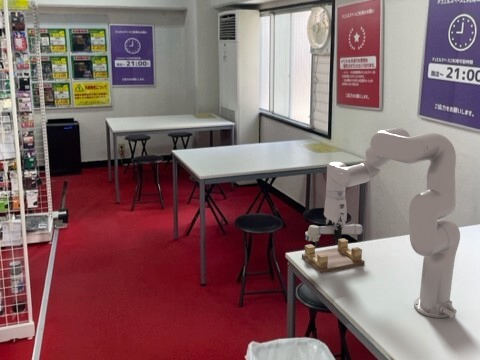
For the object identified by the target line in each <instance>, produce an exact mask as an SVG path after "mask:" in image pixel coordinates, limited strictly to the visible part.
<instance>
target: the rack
mask: <svg viewBox="0 0 480 360" xmlns="http://www.w3.org/2000/svg"><path fill="white" fill-rule="evenodd" d="M362 255H363V249H361V248H360V247H359V246H357V247H351V248H350V247H349V240H348V239H346V238H339V239H337V247H333V248H329V249H328V248H327V249H324V250H318V251H316V246H315V245H313V244H306V245H304V253H302V254H301V258H302V259H303V260H304V261H305V262H307V263H308V264H309V265H310V266H311V267H313V268H314V269H316V270H317V271H318V272H320V273H321V274H326V273H330V272H335V271H339V270H344V269H349V268H350V269H351V268H353V267H354V268H355V267H359V266H360V267H361V266H363V265H365V262H366V261H365V260H364V259H363V256H362Z"/></svg>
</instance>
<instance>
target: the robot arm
mask: <svg viewBox="0 0 480 360" xmlns="http://www.w3.org/2000/svg"><path fill="white" fill-rule="evenodd" d="M391 161H395V162H399V163H402V164H408V165H409V164H410V165H411V164H412V165H413V164H418V163H422V162H425V161H429V162H430V163H429V166H428V169H427V172H426V189H425V191H421V192H419V193H418V194H415V195H414V196H413V198H411V201H410V204H409V209H408V211H409V212H408V213H409V214H408V220H409V221H408V223H409V224H408V225H409V243H410V245H411V248H412V249H413V251H414V252H415V253H416V254H417V255H419V256H423V260H422V270H421V271H422V272H421V281H420V288H419V289H420V290H419V297H418V298H416V299H415V300H414V301H413V303H414V304H413V308H414V309H415V310H416V311H418V313H420V314H422V315H424V316H427V317H429V318H436V319H437V318H438V319H443V318H448V317H449V318H451V319H452V318H453V317H454V316H455V314H456V313H457V311H458V310H457V309H456V308H454V306H453V301H451V293H452V283H453V275H454V269H455V268H454V267H455V262H456V261H455V260H456V255H457V250H458V249H459V245H460V241H461V232H460V229H459V227H458V225H457V224H456V223H455V222H453V221H452V220H449V219H443V218H446V217H448V216H450V215H451V214H453V213H454V211H455V209H456V199H457V198H456V167H457V166H456V163H457V162H456V161H457V155H456V149H455V147H454V145H453V143H452V141H451V140H449V139H448V138H447V137H446V136H444V135H442V134H441V133H435V132H434V133H433V132H432V133H423V134H418V135H413V136H411V135H410V134H409V132H408V131H407V130H405V129H404V128H400V127H394V128H388V129H382V130H378V131H377V132H375V133H374V134H373V135H372V136H371V138H370V143H369V147H367V148H366V150H365V160H363V162H361V163H359V164H354V165H350V166H347V164H345V163H344V162H340V161H333V162H332V161H331V162H328V164H327V166H326V184H325V185H326V188H325V198H324V199H325V201H324V206H323V207H324V209H323V210H324V211H323V216H324V219H325V224H326V225H325V226H335V230H334V234H333V239H334V240H338V239H342V234H341V233H342V229H343V227H344V226H346V225H347V224H346V222H347V217H348V212H347V210H348V209H347V199H346V188H350V187H353V186H357V185H361V184H364V183H367V182H369V181H371V180H373V178H375V177H376V176H378V175H379V174H380V173H381V172H382V171H383V169H384V166H385V165H387V164H388V163H390V162H391Z"/></svg>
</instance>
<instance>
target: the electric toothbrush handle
mask: <svg viewBox="0 0 480 360" xmlns="http://www.w3.org/2000/svg"><path fill="white" fill-rule="evenodd" d="M307 229H308V230H307V231H305V234H304V235H305V238H304V239H305V240H306V242H307V241H308V242H310V241H311V242H314V243H317V242H319V240H320V237H321V236H322V235H334V230H335V225H334V226H326V225H324V226H323V225H321V226H318V225H315V224H311V225H309V227H308V228H307ZM363 233H364V226H363V225H362V224H360V223H358V224H356V223H352V224H346V226H344V227H343V229H342V233H341V235H352V236H355V235H362V234H363Z"/></svg>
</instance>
